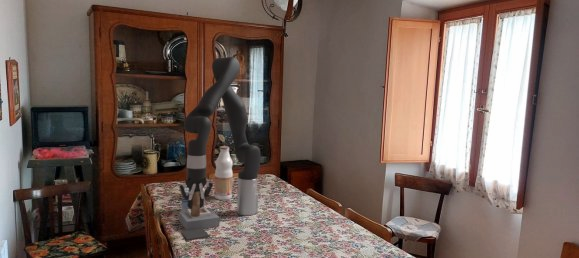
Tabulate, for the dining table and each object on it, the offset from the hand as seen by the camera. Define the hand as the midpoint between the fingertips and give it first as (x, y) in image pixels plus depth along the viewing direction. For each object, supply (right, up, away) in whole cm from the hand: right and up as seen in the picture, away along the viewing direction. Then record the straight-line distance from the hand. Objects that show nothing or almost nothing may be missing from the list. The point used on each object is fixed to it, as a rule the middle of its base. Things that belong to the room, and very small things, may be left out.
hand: (195, 207), depth 152 cm
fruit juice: (+2, -6, +53) cm, 53 cm away
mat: (0, -11, +1) cm, 11 cm away
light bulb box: (-8, -8, +29) cm, 31 cm away
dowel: (0, -3, 0) cm, 3 cm away
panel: (-2, -10, +14) cm, 17 cm away
